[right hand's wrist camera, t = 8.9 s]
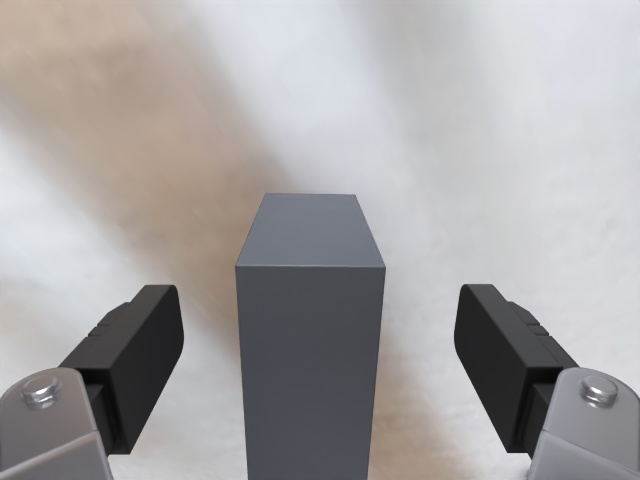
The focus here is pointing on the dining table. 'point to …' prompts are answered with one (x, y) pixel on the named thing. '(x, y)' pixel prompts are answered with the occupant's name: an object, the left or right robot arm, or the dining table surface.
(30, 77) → the dining table surface
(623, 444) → the right robot arm
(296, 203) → the box
